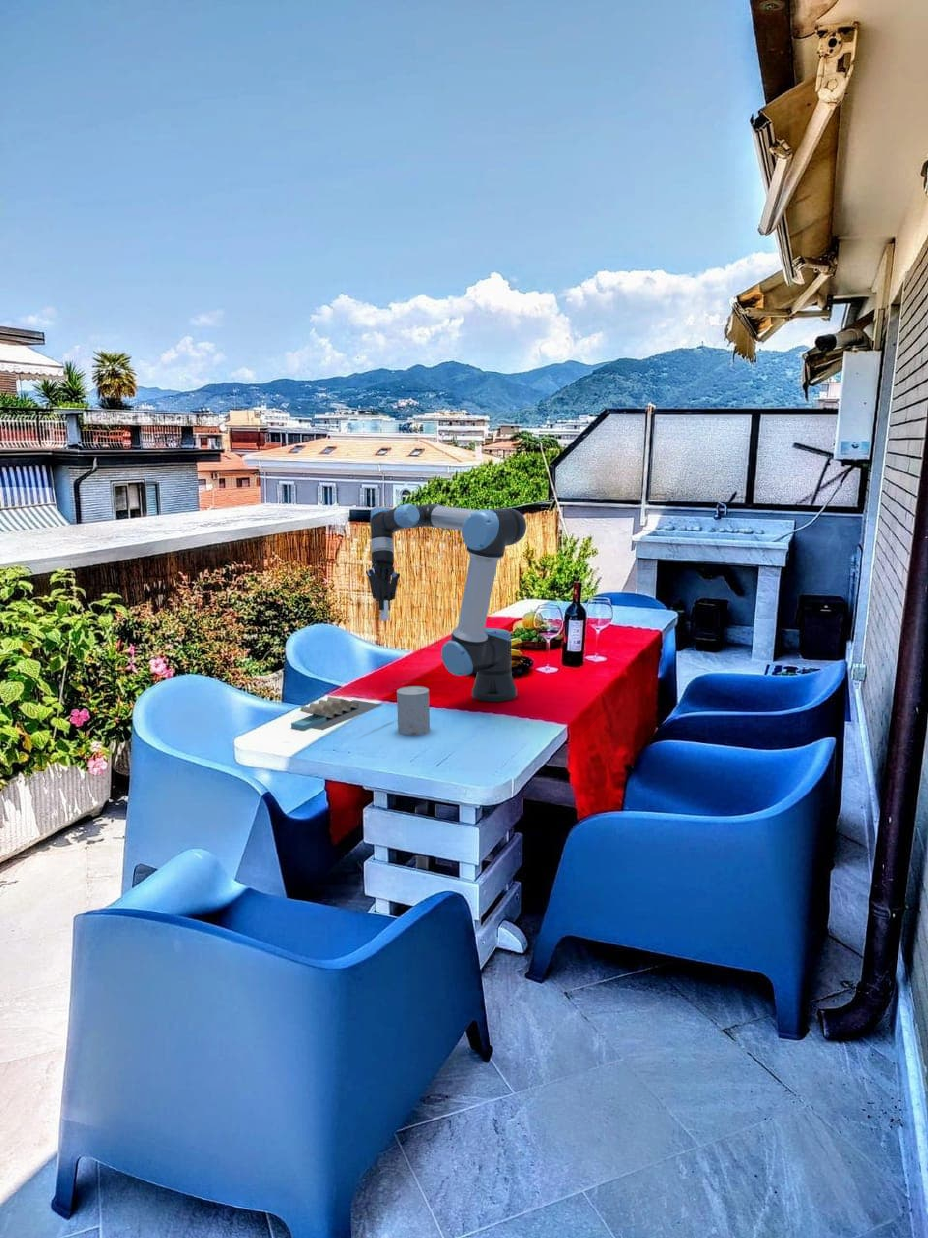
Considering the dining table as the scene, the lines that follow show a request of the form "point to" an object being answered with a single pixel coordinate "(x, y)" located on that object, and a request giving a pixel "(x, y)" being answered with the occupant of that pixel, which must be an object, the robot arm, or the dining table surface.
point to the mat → (347, 714)
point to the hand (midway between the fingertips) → (384, 620)
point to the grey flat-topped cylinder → (413, 710)
